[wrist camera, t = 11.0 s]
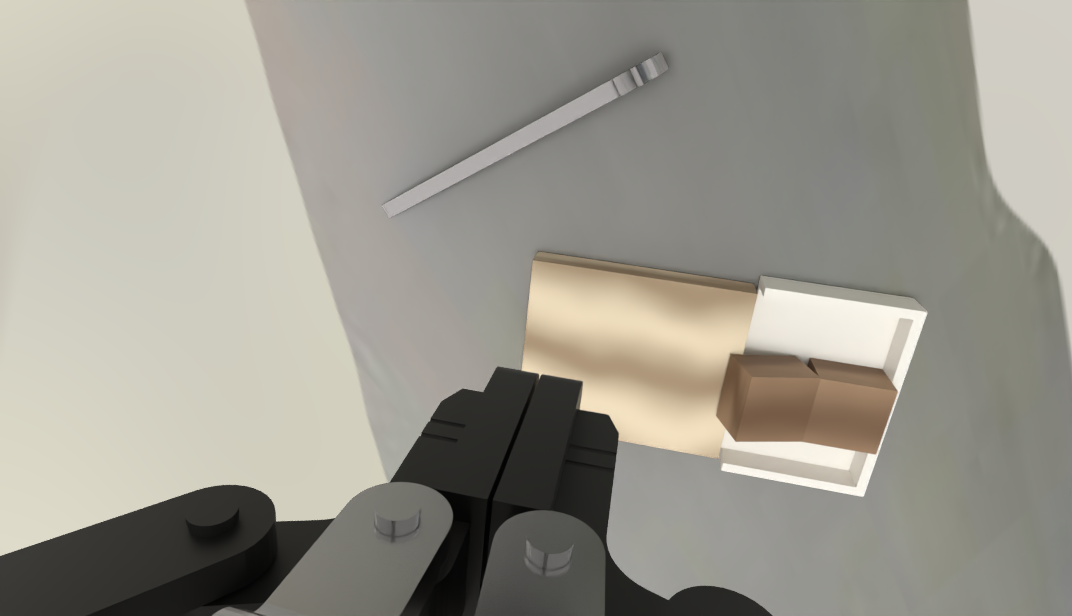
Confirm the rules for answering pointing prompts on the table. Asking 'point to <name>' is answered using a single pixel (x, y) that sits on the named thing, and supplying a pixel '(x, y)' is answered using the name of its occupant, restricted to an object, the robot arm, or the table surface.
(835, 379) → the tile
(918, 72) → the table surface
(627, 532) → the table surface
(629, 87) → the caliper
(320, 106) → the table surface
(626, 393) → the beige square panel
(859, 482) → the tray
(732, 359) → the brown square block
